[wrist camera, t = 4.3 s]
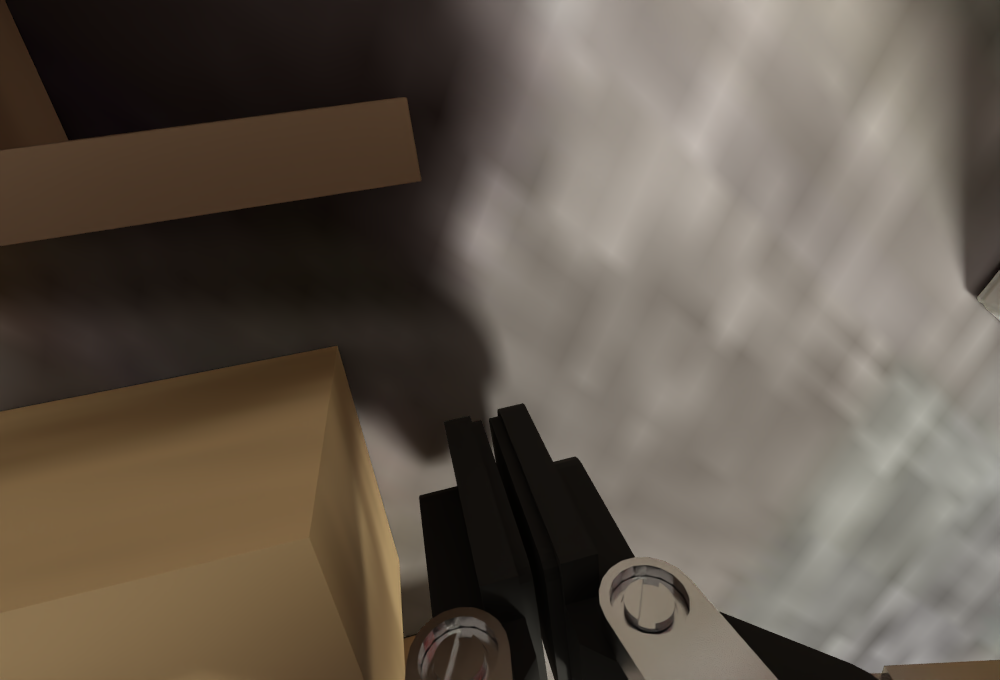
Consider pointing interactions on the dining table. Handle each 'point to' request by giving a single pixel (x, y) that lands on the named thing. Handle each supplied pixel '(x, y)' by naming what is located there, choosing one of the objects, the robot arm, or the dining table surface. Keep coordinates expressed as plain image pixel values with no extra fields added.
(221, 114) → the dining table surface
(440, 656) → the robot arm
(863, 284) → the dining table surface
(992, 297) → the tea box
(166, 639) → the oak block
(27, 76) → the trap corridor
